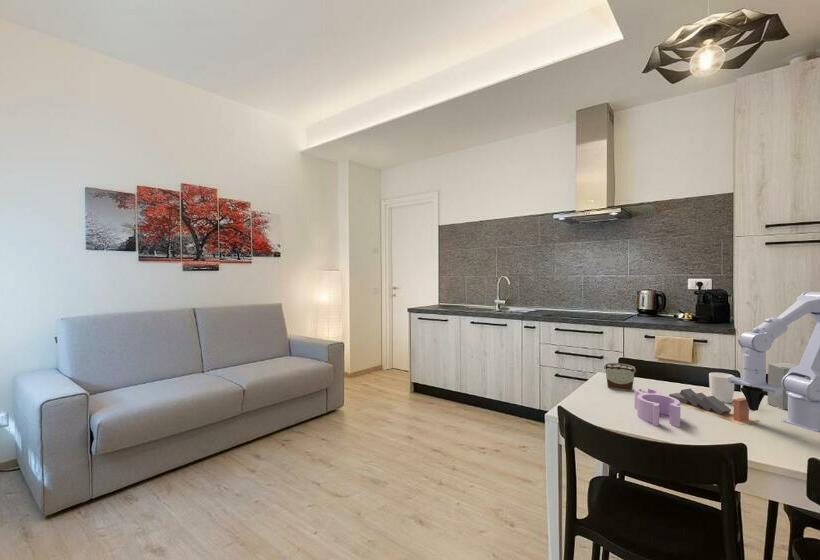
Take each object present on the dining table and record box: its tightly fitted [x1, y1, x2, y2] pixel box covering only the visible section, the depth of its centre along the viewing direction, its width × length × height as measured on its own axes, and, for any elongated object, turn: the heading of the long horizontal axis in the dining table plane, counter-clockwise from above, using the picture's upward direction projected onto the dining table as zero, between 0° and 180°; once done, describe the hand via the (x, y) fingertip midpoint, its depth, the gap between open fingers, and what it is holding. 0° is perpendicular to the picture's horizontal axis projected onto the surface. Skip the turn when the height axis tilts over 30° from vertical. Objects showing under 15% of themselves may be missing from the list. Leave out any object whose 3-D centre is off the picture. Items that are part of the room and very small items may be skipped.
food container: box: [603, 362, 637, 392], centre depth 171 cm, size 12×6×10 cm, turn 58°
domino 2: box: [679, 388, 701, 407], centre depth 149 cm, size 2×5×7 cm
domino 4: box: [702, 395, 732, 415], centre depth 140 cm, size 2×5×7 cm
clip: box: [634, 387, 681, 428], centre depth 139 cm, size 20×12×7 cm, turn 169°
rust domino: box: [733, 397, 750, 422], centre depth 133 cm, size 2×5×7 cm, turn 108°
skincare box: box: [767, 362, 799, 410], centre depth 145 cm, size 8×7×16 cm
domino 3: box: [691, 392, 713, 411], centre depth 144 cm, size 2×5×7 cm
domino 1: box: [668, 392, 691, 404], centre depth 152 cm, size 2×5×7 cm
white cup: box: [708, 372, 736, 404], centre depth 153 cm, size 8×8×10 cm
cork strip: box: [680, 402, 760, 426], centre depth 142 cm, size 26×9×1 cm, turn 19°
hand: (753, 409), depth 129 cm, fingers closed
